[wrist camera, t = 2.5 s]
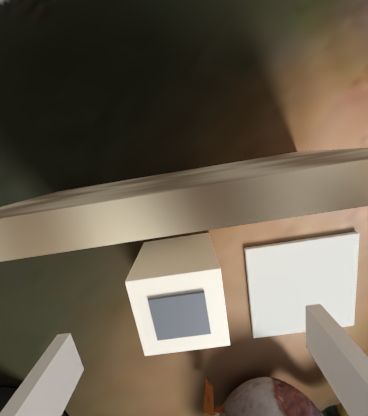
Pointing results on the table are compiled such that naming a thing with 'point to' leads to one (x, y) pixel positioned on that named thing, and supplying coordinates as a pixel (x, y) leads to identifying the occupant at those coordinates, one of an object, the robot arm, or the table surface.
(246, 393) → the decorative duck model
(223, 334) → the cream cube
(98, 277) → the table surface
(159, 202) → the birch screen
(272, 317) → the felt mat
